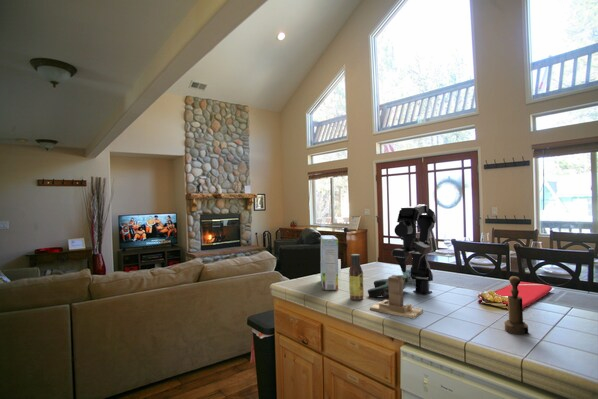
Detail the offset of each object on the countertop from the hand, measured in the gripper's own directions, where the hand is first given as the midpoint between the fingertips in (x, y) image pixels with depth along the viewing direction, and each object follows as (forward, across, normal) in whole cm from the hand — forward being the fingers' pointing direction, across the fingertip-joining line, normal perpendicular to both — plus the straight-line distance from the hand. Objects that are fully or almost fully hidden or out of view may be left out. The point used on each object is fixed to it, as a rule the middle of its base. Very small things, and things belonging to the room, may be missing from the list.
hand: (410, 270), depth 145 cm
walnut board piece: (+12, -16, -4) cm, 20 cm away
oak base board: (+13, -17, -4) cm, 22 cm away
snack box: (+13, -8, +44) cm, 47 cm away
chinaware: (+13, +31, +18) cm, 38 cm away
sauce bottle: (+13, -15, +18) cm, 27 cm away
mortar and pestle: (+13, -4, -42) cm, 44 cm away
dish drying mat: (+14, +38, -28) cm, 49 cm away
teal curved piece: (+12, -2, +20) cm, 24 cm away
